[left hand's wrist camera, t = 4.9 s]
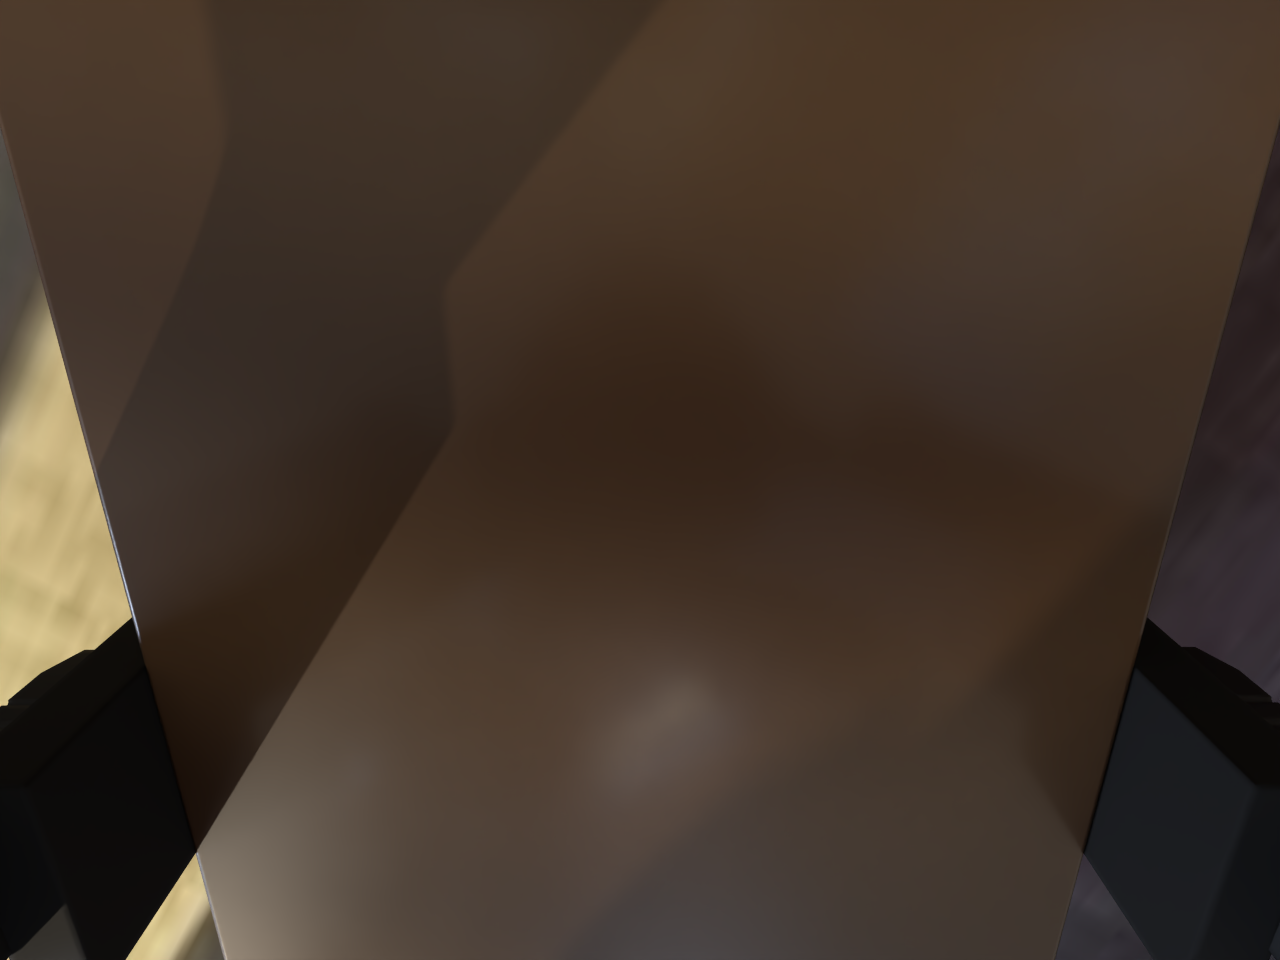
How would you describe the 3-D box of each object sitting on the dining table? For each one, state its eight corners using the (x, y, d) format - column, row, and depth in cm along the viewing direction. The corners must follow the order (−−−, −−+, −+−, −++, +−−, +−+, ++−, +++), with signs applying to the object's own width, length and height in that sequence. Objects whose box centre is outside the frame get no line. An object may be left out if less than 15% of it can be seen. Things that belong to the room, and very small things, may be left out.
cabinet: (284, -315, 12) (-370, -1221, 4) (996, -315, 12) (1652, -1227, 4) (407, 658, 18) (234, 1011, 10) (872, 658, 18) (1043, 1012, 10)
